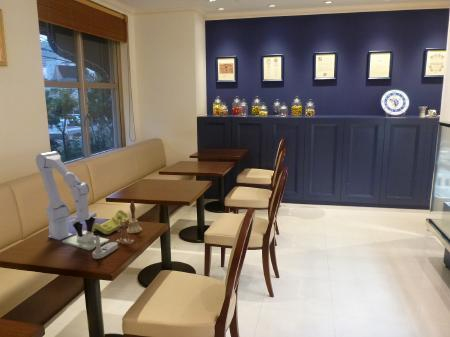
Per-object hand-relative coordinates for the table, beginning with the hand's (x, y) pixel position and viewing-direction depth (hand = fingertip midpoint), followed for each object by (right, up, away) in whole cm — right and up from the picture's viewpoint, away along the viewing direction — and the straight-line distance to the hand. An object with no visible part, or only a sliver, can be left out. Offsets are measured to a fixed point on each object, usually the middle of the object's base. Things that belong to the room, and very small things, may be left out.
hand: (85, 234), depth 184 cm
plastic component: (+8, 0, +19) cm, 21 cm away
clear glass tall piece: (+20, -4, -1) cm, 21 cm away
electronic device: (+14, -7, -12) cm, 20 cm away
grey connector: (+1, -3, 0) cm, 3 cm away
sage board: (0, -4, +1) cm, 4 cm away
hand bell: (+21, -1, +15) cm, 25 cm away
